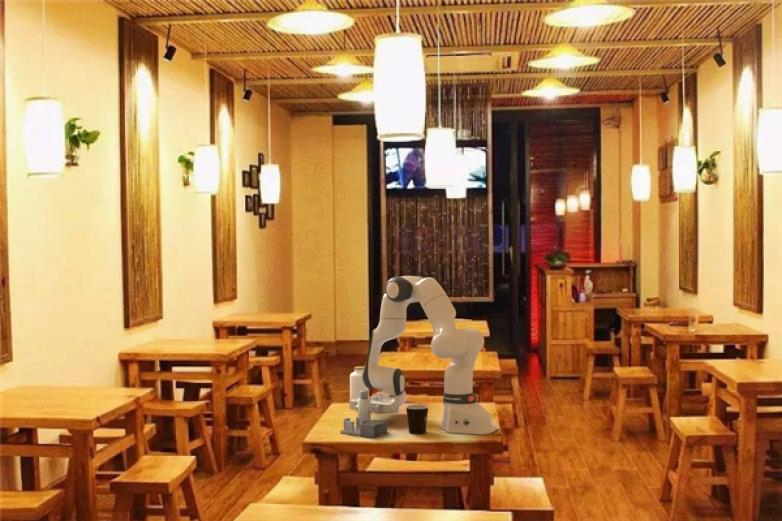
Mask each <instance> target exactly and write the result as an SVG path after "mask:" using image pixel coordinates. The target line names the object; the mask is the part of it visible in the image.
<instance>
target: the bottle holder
mask: <svg viewBox="0 0 782 521" xmlns="http://www.w3.org/2000/svg"><path fill="white" fill-rule="evenodd" d="M355 421H356V422H355ZM355 421H353V420H351V417H345V418H344V419H343V429H340V434H345V435H353V436H359V437H362V438H370V439H376V438H378V437H380V436H383V435H386V434H387V433H388V420H381V419H380V420H379V419H371V421H369V422H366V420H364V418H362V417H358V416H357V417H356V418H355Z"/></svg>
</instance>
